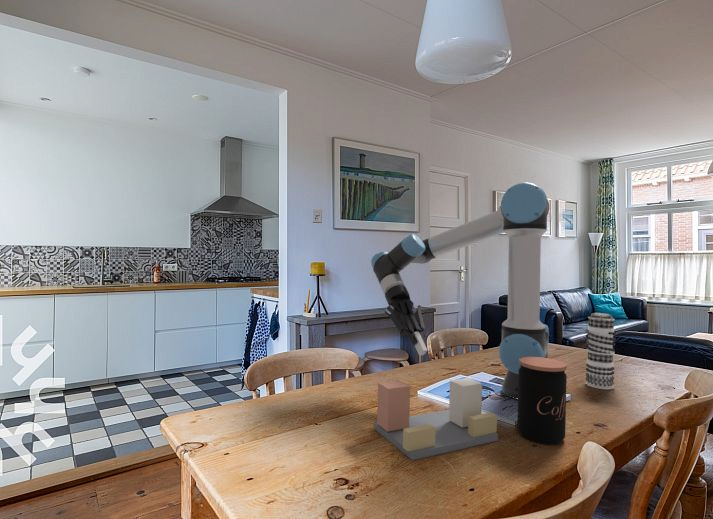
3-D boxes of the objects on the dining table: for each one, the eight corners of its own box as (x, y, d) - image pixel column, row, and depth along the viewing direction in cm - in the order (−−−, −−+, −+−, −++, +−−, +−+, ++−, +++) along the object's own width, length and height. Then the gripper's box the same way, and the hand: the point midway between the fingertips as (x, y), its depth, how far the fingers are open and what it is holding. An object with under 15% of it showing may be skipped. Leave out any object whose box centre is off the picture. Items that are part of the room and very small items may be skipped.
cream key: (448, 419, 101) (449, 380, 101) (467, 416, 104) (468, 377, 104) (462, 427, 97) (463, 386, 97) (481, 423, 99) (482, 383, 99)
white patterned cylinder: (606, 382, 144) (608, 312, 144) (620, 390, 134) (622, 316, 134) (579, 380, 144) (581, 311, 145) (592, 388, 135) (593, 315, 135)
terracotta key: (377, 423, 98) (378, 382, 98) (398, 419, 100) (399, 380, 100) (387, 431, 93) (388, 388, 93) (409, 427, 96) (410, 386, 96)
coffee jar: (537, 448, 91) (539, 368, 91) (507, 428, 101) (509, 357, 101) (575, 443, 94) (577, 366, 94) (543, 425, 104) (544, 355, 104)
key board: (372, 428, 99) (372, 406, 99) (452, 414, 110) (453, 394, 110) (410, 460, 84) (410, 434, 84) (499, 440, 94) (500, 416, 94)
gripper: (407, 298, 137) (435, 358, 122) (373, 298, 131) (399, 361, 116) (416, 283, 132) (447, 344, 117) (381, 283, 126) (409, 347, 111)
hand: (423, 352), depth 117 cm, fingers closed
